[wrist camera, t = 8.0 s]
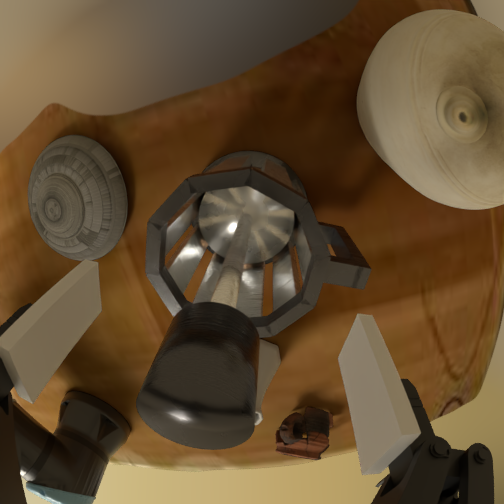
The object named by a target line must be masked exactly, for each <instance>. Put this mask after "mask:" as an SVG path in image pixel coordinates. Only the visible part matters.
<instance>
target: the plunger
mask: <svg viewBox="0 0 504 504" xmlns="http://www.w3.org/2000/svg"><path fill="white" fill-rule="evenodd" d="M199 225H200V230H201V232H202V235H203V237H204V239H205V241H206V242H207V244H208V245H209V246H210V247H211V249H212V250H214V251H215V252H216V253H217V254H218V255H220V256H221V257H223V258H225V260H224V263H223V266H222V269H221V272H220V275H219V278H218V281H217V284H216V287H215V290H214V293H213V296H212V299H211V302H199V303H194V304H191V305H188V306H186V307H184V308H183V309H181V310H180V311H179V312H178V313H177V314H176V315H175V317H174V318H173V320H172V322H171V324H170V326H169V328H168V331H167V333H166V335H165V337H164V339H163V341H162V343H161V346H160V348H159V350H158V352H157V354H156V356H155V359H154V361H153V363H152V365H151V367H150V370H149V372H148V374H147V376H146V379H145V381H144V383H143V385H142V388H141V390H140V392H139V394H138V397H137V400H136V407H137V410H138V413H139V415H140V416H141V418H142V419H143V420H144V422H145V423H146V424H147V425H148V426H149V427H150V428H152V429H153V430H154V431H155V432H157V433H158V434H160V435H162V436H163V437H165V438H167V439H169V440H171V441H174V442H176V443H179V444H182V445H185V446H189V447H193V448H199V449H210V450H216V449H226V448H231V447H235V446H237V445H240V444H242V443H244V442H245V441H246V440H248V439H249V438H250V437H251V435H252V434H253V432H254V427H255V413H256V398H257V383H258V367H259V351H260V337H259V333H258V330H257V328H256V326H255V325H254V323H253V322H252V321H251V320H250V319H249V318H248V317H247V316H246V315H245V314H244V313H242V312H241V311H239V310H238V309H236V304H237V299H238V294H239V289H240V283H241V278H242V273H243V268H244V264H253V263H259V262H262V261H265V260H268V259H270V258H272V257H273V256H275V255H276V254H277V253H279V252H280V251H281V250H282V249H283V248H284V246H285V245H286V244H287V242H288V241H289V239H290V236H291V234H292V231H293V226H294V211H292V210H291V209H289V208H287V207H285V206H283V205H282V204H280V203H278V202H276V201H274V200H273V199H271V198H269V197H267V196H265V195H263V194H262V193H260V192H258V191H256V190H254V189H252V188H251V187H249V186H244V187H236V188H229V189H221V190H214V191H207V192H206V194H205V195H204V197H203V199H202V202H201V205H200V209H199Z"/></svg>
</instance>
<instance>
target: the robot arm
mask: <svg viewBox="0 0 504 504" xmlns="http://www.w3.org/2000/svg"><path fill="white" fill-rule="evenodd" d="M101 311H102V307H101V296H100V284H99V269H98V262H94V261H90V260H86V259H85V260H83V261H82V262H81V263H80V264H79V265H77V266H76V267H75V268H74V269H73V270H71V271H70V272H69V273H68V274H67V275H66V276H64V277H63V278H62V279H61V280H60V281H59V282H58V283H56V284H55V285H54V286H53V287H52V288H51V289H50V290H49V291H47V292H46V293H45V294H44V295H43V296H42V297H41V298H40V299H39V300H38V301H36V302H35V303H34V304H31V303H29V304H27V305H25V306H23V307H21V308H19V309H18V310H17V311H16V312H15V313H14V314H13V315H12V317H10V318H9V319H8V320H7V322H5V323H4V324H3V325H1V326H0V504H27V502H26V498H25V493H24V490H23V484H22V480H21V477H23V478H24V479H25V480H26V481H27V482H26V488H27V489H28V490H29V491H31V492H32V493H34V494H35V495H37V496H39V497H41V498H43V499H45V500H47V501H49V502H51V503H53V504H92V503H93V501H94V499H95V498H96V497H95V496H96V493H97V491H98V488H99V485H100V483H101V480H102V477H103V475H104V472H105V469H106V467H107V464H108V462H109V459H110V458H111V457H112V456H113V455H114V454H115V453H116V451H117V450H118V449H119V448H120V447H121V446H122V445H123V444H124V443H125V442H126V441H127V439H128V436H129V434H130V427H129V424H128V423H127V421H126V420H125V419H124V418H123V417H122V415H120V414H119V413H118V412H117V411H116V410H115V409H113V408H112V407H111V406H109V405H108V404H106V403H105V402H103V401H101V400H100V399H98V398H96V397H94V396H91V395H89V394H86V393H83V392H78V391H71V392H68V393H67V394H66V395H65V397H64V398H63V400H62V402H61V406H60V412H59V418H58V424H57V428H56V430H55V432H54V433H53V434H52V433H51V432H49V431H48V430H47V429H46V428H45V427H43V426H42V425H41V424H40V423H39V422H37V421H36V420H35V419H34V418H33V417H32V416H31V415H30V414H28V413H27V412H26V411H25V410H24V409H23V408H22V407H21V406H20V405H19V404H18V403H17V402H16V400H15V399H13V398H12V395H11V392H10V391H11V389H12V388H13V387H15V389H16V391H17V393H18V395H19V396H20V397H22V398H23V399H25V400H27V401H29V402H30V403H32V404H33V403H34V402H35V400H36V399H37V397H38V396H39V394H40V393H41V391H42V390H43V389H44V387H45V386H46V384H47V383H48V381H49V380H50V379H51V377H52V376H53V374H54V373H55V371H56V370H57V369H58V367H59V366H60V365H61V363H62V362H63V360H64V359H65V358H66V356H67V355H68V354H69V352H70V351H71V350H72V348H73V347H74V346H75V344H76V343H77V342H78V341H79V339H80V338H81V337H82V335H83V334H84V333H85V331H86V330H87V329H88V328H89V326H90V325H91V324H92V323H93V321H94V320H95V319H96V317H97V316H98V315H99V314H100V313H101ZM338 361H339V365H340V369H341V373H342V378H343V382H344V387H345V391H346V396H347V400H348V405H349V409H350V414H351V419H352V424H353V429H354V434H355V439H356V444H357V450H358V455H359V460H360V466H361V472H362V475H367V474H378V473H381V472H382V471H383V470H384V469H385V468H387V467H388V466H389V470H390V474H388V475H387V476H386V477H385V478H384V479H382V480H381V481H380V482H379V483H378V484H377V485H376V487H379V486H380V485H381V484H382V486H381V487H380V489H379V491H378V493H377V495H376V496H375V498H374V500H373V502H372V503H371V504H494V476H493V460H492V455H491V452H490V450H489V449H488V448H487V447H486V446H485V445H483V444H481V443H475V444H473V445H471V446H470V447H469V448H468V449H467V450H466V451H464V450H457V449H451V447H450V445H449V444H448V442H447V441H446V440H444V439H443V438H441V437H438V436H435V434H434V432H433V429H432V426H431V424H430V421H429V419H428V416H427V414H426V411H425V409H424V408H423V404H422V402H421V400H420V397H419V395H418V392H417V390H416V388H415V387H414V385H413V384H412V383H411V382H410V381H409V380H408V379H400V377H399V374H398V372H397V370H396V367H395V365H394V363H393V360H392V358H391V356H390V353H389V351H388V349H387V347H386V344H385V342H384V340H383V338H382V335H381V333H380V331H379V329H378V327H377V324H376V322H375V320H374V318H373V316H371V315H364V314H357V316H356V319H355V321H354V323H353V326H352V328H351V330H350V333H349V335H348V337H347V339H346V342H345V344H344V346H343V348H342V350H341V352H340V355H339V357H338ZM458 492H459V498H458V496H457V494H458Z"/></svg>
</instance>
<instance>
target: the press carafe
mask: <svg viewBox="0 0 504 504" xmlns="http://www.w3.org/2000/svg"><path fill="white" fill-rule="evenodd" d="M244 186H249V187H251V188H252V189H254V190H256V191H258V192H260V193H262V194H263V195H265V196H267V197H269V198H271V199H273V200H274V201H276V202H278V203H280V204H282V205H283V206H285V207H287V208H289V209H291V210H292V211H294V226H293V231H292V234H291V236H290V239H289V241H288V242H287V244H286V245H285V246H284V248H283V249H282V250H281V251H280V252H279V253H277V254H276V255H275V256H273V257H272V258H270V259H268V260H265V261H262V262H259V263H253V264H244V268H243V273H242V278H241V283H240V289H239V294H238V299H237V304H236V309H238V310H239V311H241V312H242V313H244V314H245V315H246V316H247V317H248V318H249V319H250V320H251V321H252V322H253V323H254V325H255V326H256V328H257V330H258V333H259V337H260V338H263V337H272V335H273V336H275V335H276V334H278V333H279V332H280V331H282V330H283V329H285V328H286V327H288V326H289V325H291V324H292V323H293V322H295V321H296V320H298V319H299V318H300V317H302V316H303V315H305V314H306V313H307V312H309V311H310V310H312V309H313V308H314V306H315V305H316V302H317V300H318V297H319V294H320V290H321V287H322V284H323V282H324V283H330V284H336V285H341V286H347V287H352V288H358V289H364V288H365V285H366V282H367V280H368V277H369V274H370V272H371V268H370V266H369V265H368V263H367V262H366V260H365V258H364V257H363V255H362V254H361V252H360V251H359V250H358V248H357V247H356V245H355V244H354V242H353V241H352V239H351V238H350V236H349V235H348V233H347V232H346V231H345V229H344V228H343V227H341V226H336V225H332V224H327V223H323V222H318V221H317V219H316V217H315V215H314V212H313V210H312V207H311V205H310V203H309V201H308V199H307V195H306V192H305V189H304V187H303V185H302V183H301V181H300V179H299V177H298V176H297V175H296V173H295V172H294V171H293V170H292V169H291V168H290V167H289V166H288V165H287V164H286V163H284V162H283V161H282V160H280V159H278V158H276V157H275V156H272V155H270V154H267V153H263V152H259V151H239V152H234V153H231V154H228V155H225V156H223V157H221V158H219V159H218V160H216V161H214V162H213V163H212V164H210V165H209V166H208V167H207V168H206V169H205V170H204V171H203V172H202V173H201V174H195V175H192V176H190V177H188V178H187V179H185V180H184V181H183V183H182V184H181V185H180V186H179V187H178V188H177V189H176V190H175V191H174V192H173V193H172V194H171V195H170V197H169V198H168V199H167V200H166V201H165V202H164V203H163V204H162V205H161V206H160V208H159V209H158V210H157V211H156V212H155V213H154V214H153V215H152V217H151V218H150V219H149V221H148V223H147V241H146V270H145V273H147V274H146V276H147V277H148V279H149V280H150V282H151V283H152V285H153V287H154V288H155V290H156V291H157V293H158V294H159V296H160V297H161V299H162V300H163V302H164V303H165V305H166V306H167V308H168V309H169V311H170V312H171V314H172V315H173V316H175V315H176V314H177V313H178V312H179V311H180V310H181V309H183V308H184V307H186V306H188V305H191V304H194V303H199V302H211V299H212V296H213V293H214V290H215V287H216V284H217V281H218V278H219V275H220V272H221V269H222V266H223V263H224V260H225V258H223V257H221V256H220V255H218V254H217V253H216V252H215V251H214V250H212V249H211V247H210V246H209V245H208V244H207V242H206V241H205V239H204V237H203V235H202V232H201V230H200V225H199V209H200V205H201V202H202V199H203V197H204V195H205V194H206V192H207V191H214V190H221V189H229V188H236V187H244ZM191 223H192V225H193V229H192V230H191V231H190V233H189V234H188V235H187V236H186V238H185V239H184V241H183V242H182V243H181V245H180V246H179V247H178V249H177V250H176V251H175V253H174V254H173V255H172V257H171V258H170V259H169V261H168V262H167V264H166V265H165V256H166V255H167V254H168V252H169V251H170V250H171V249H172V247H173V246H174V245H175V243H176V242H177V241H178V240H179V238H180V237H181V236H182V235H183V233H184V232H185V231H186V230H187V228H188V227H189V226H190V225H191ZM327 244H331V246H332V248H333V250H334V252H335V254H336V256H331V254H330V252H329V249H328V247H327ZM295 245H296V249H297V254H298V259H299V264H300V269H301V274H302V280H303V286H302V289H301V286H300V280H299V274H298V269H297V263H296V257H295V252H294V246H295ZM206 248H207V249H208V250H209V251H210V252H211V253H213V257H212V259H211V261H210V263H209V266H208V268H207V270H206V272H205V275H204V277H203V279H202V282H201V284H200V286H199V289H198V291H197V293H196V296H195V298H194V300H193V303H191V302H189V301H187V300H186V298H185V297H184V295H183V293H184V291H185V289H186V287H187V285H188V283H189V281H190V279H191V277H192V275H193V274H194V272H195V270H196V268H197V266H198V264H199V262H200V260H201V258H202V256H203V254H204V252H205V250H206ZM270 262H273V312H272V313H271V314H270V315H268V316H263V317H262V314H263V295H264V275H265V264H268V263H270Z"/></svg>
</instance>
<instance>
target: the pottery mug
mask: <svg viewBox="0 0 504 504" xmlns="http://www.w3.org/2000/svg"><path fill="white" fill-rule="evenodd" d="M329 427H330V428H331V427H333V415H332V414H331V413H328V412H326V411H324V410H320V409H317V408H310V407H307V408H306V410H305V414H304V417H303V416H302V415H301V414H300V413H297V412H296V413H293V414H291V415H289V416H288V417H287V418H286V419H285V420H284V421H283V422H282V424H281V427H280V430H277V431H276V444H277V449H276V452H278V453H281V454H284V455H289V456H294V457H300V458H306V459H312V460H320V459H321V457H320V455H321V453H323V452H324V451H325V450H326V449H327V448H328V447H329V444H328V443H329V439H328V437H329ZM305 432H306V433H307V438H302V437H303V436H302V434H303V433H305Z"/></svg>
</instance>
